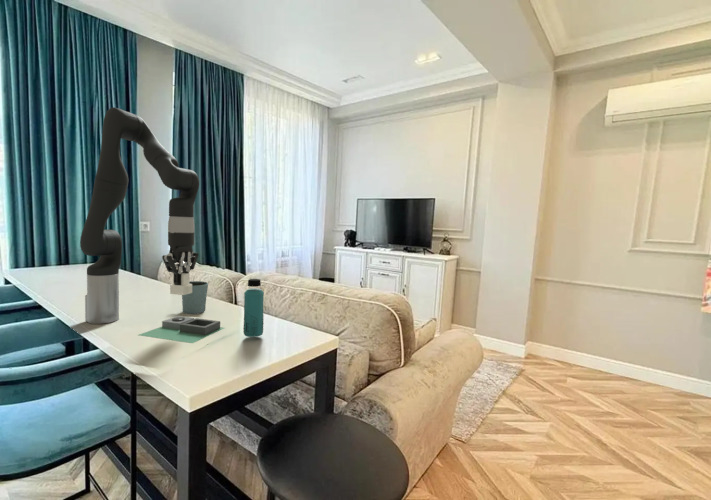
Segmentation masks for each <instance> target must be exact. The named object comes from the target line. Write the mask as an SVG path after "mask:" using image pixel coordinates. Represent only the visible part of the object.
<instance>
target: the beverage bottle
mask: <svg viewBox="0 0 711 500" xmlns="http://www.w3.org/2000/svg"><path fill="white" fill-rule="evenodd" d="M261 282H262V281H261V279H259V278H250V279H248V280H247V286H248V287H250V288H247V290H245V292H244V298H243V299H244V301H243V302H244V303H243V332H242V333H243V335H244V336H245V337H248V338H256V337H260V336H262V335H263V333H264V301H265V299H264V294H265V292H264V291H263V290H262V289H261V288H258V287H261V286H262V283H261ZM251 287H254V288H251ZM255 287H256V288H255Z"/></svg>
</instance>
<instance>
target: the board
mask: <svg viewBox="0 0 711 500" xmlns="http://www.w3.org/2000/svg"><path fill="white" fill-rule="evenodd" d="M224 329H225V327H221V320H213V319H205V318H197V317H196V318H194V317H188V316H181V315H177V316H174V317H171V318H168V319H165V320H162V321H161V326H159V327H157V328H154V329H151V330H148V331H146V332H145V331H144V332H142V333H140V334H138V336H142V337H146V338H147V337H149V338H156V339H161V340H168V341H174V342H180V343H189V344H194V343H197V342H198V341H201V340H203V339H205V338H207V337H209V336H211V335H213V334H215V333H218V332H220V331H221V330H224Z"/></svg>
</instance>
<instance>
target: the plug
mask: <svg viewBox="0 0 711 500" xmlns="http://www.w3.org/2000/svg"><path fill="white" fill-rule="evenodd" d="M180 274H181V285H175V284H174V274H173V273H172V275H173V276H172V278H173V279H172V282H173V283H171V284H169V287H170V288H169V290H170V291H169V294H170V295H178V296H180V295H181V296H182V295H186V294H190V293H192V284H189V282H190V272H189V273H180Z"/></svg>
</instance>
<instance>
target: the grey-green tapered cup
mask: <svg viewBox="0 0 711 500" xmlns="http://www.w3.org/2000/svg"><path fill="white" fill-rule="evenodd" d="M189 284H192V293H190V294H186V295H181V299H182V301H181V303H182V313H183V314H186V315H197V314H202V312H203V313H205V312H206V304H207V295H208V287H209V282H207V281H201V280H200V281H199V280H195V281H194V280H191V281H190V280H189ZM204 311H205V312H204Z"/></svg>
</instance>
